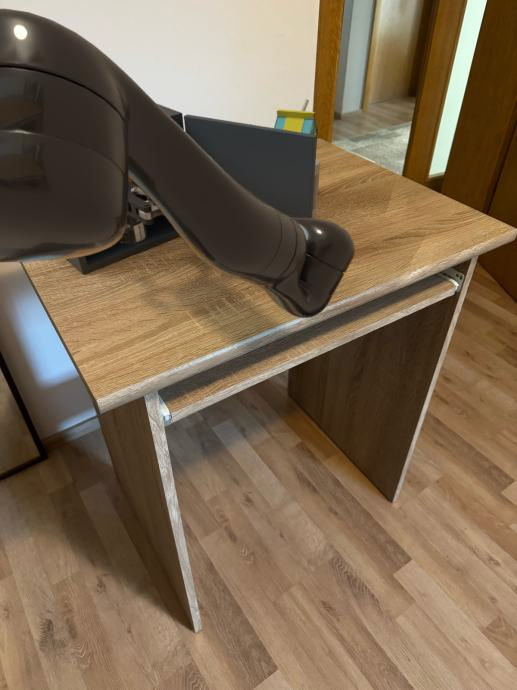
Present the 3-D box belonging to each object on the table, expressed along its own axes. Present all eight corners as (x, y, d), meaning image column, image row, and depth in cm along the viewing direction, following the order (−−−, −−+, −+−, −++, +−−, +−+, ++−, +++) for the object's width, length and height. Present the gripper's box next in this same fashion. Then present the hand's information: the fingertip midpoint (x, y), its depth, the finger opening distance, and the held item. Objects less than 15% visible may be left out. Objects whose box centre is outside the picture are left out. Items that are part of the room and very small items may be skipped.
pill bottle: (153, 238, 85) (142, 175, 78) (121, 248, 83) (106, 184, 76) (139, 225, 89) (127, 164, 82) (108, 234, 87) (93, 172, 79)
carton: (316, 193, 101) (321, 99, 90) (306, 209, 96) (311, 111, 84) (281, 189, 103) (283, 96, 91) (270, 204, 98) (270, 108, 86)
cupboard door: (214, 218, 93) (205, 105, 80) (322, 245, 85) (332, 124, 72) (196, 232, 89) (183, 115, 76) (307, 261, 81) (314, 136, 68)
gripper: (259, 172, 62) (187, 140, 72) (165, 205, 56) (98, 165, 65) (259, 225, 67) (192, 189, 77) (173, 261, 60) (110, 217, 70)
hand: (149, 178), depth 71 cm, fingers open, 8 cm apart
